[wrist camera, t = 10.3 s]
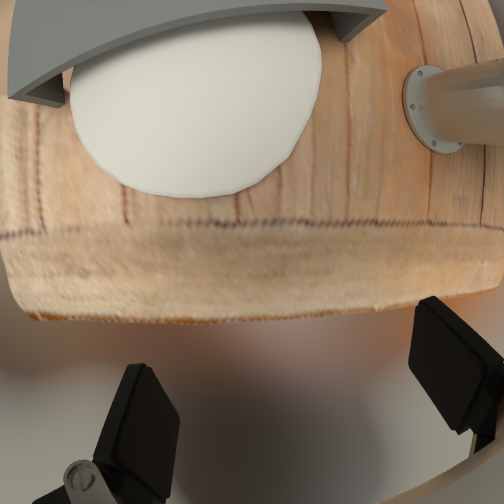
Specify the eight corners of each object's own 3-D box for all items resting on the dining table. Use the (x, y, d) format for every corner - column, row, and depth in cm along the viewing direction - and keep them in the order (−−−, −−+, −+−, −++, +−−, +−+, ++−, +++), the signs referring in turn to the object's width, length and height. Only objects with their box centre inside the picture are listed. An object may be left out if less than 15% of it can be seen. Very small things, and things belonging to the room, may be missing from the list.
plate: (78, -10, 16) (307, -39, 18) (96, 13, 22) (296, -11, 24) (60, 219, 22) (347, 189, 24) (89, 213, 29) (324, 189, 30)
